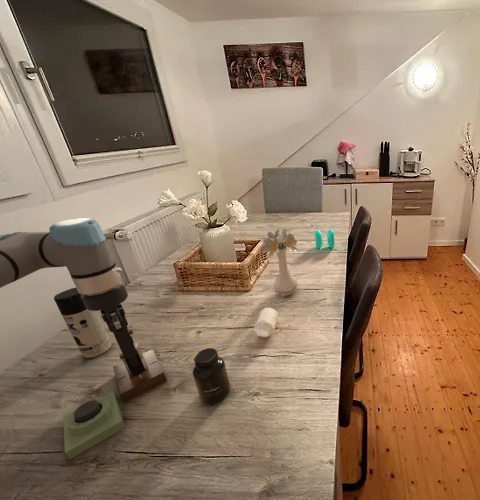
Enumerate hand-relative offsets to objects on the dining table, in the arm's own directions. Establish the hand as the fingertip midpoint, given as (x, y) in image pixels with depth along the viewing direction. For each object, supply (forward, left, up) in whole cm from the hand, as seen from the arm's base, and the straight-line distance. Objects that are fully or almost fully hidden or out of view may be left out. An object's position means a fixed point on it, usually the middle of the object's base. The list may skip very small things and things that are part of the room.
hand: (136, 365), depth 72 cm
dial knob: (0, 0, -1) cm, 1 cm away
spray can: (-22, -7, -5) cm, 24 cm away
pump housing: (+8, -10, -4) cm, 14 cm away
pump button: (+8, -10, -1) cm, 13 cm away
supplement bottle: (+19, +12, -5) cm, 23 cm away
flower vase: (-9, +50, -5) cm, 51 cm away
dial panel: (0, 0, -4) cm, 4 cm away
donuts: (-32, +90, -5) cm, 96 cm away
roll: (+8, +32, -5) cm, 33 cm away
